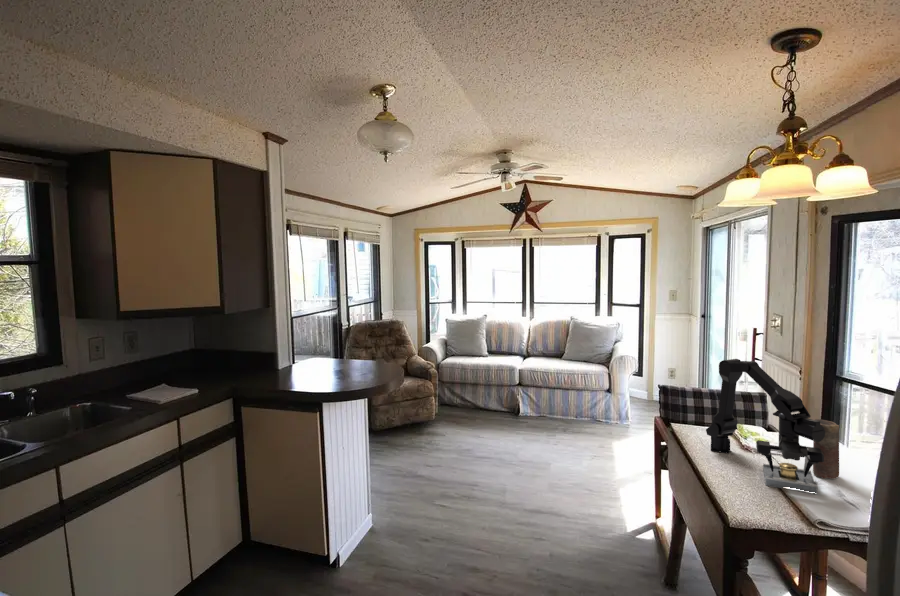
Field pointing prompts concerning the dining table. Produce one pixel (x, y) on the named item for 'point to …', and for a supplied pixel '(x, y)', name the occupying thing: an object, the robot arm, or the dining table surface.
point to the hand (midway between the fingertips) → (788, 473)
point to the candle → (828, 451)
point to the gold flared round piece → (788, 470)
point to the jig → (776, 480)
